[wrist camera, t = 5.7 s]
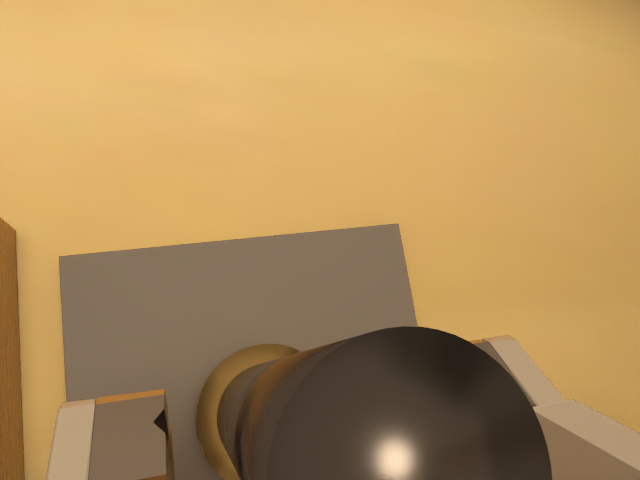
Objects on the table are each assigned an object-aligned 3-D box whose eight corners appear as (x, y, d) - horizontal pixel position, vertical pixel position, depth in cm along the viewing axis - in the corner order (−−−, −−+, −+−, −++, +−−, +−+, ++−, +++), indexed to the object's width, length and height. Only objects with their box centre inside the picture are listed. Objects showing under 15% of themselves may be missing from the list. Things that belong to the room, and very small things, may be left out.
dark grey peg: (345, 383, 16) (645, 381, 6) (289, 506, 15) (526, 804, 4) (236, 324, 16) (324, 204, 5) (170, 445, 15) (112, 608, 4)
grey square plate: (393, 227, 18) (398, 223, 18) (454, 561, 16) (462, 567, 16) (63, 260, 16) (58, 256, 16) (84, 655, 14) (80, 664, 14)
